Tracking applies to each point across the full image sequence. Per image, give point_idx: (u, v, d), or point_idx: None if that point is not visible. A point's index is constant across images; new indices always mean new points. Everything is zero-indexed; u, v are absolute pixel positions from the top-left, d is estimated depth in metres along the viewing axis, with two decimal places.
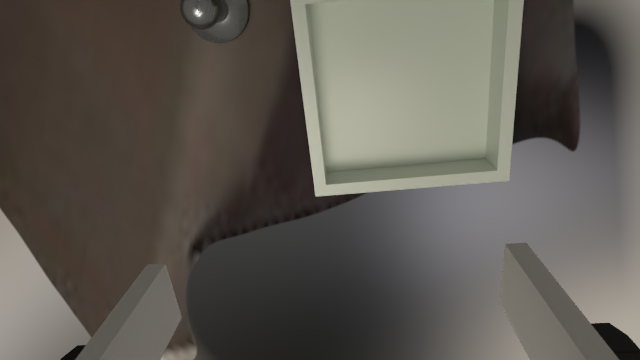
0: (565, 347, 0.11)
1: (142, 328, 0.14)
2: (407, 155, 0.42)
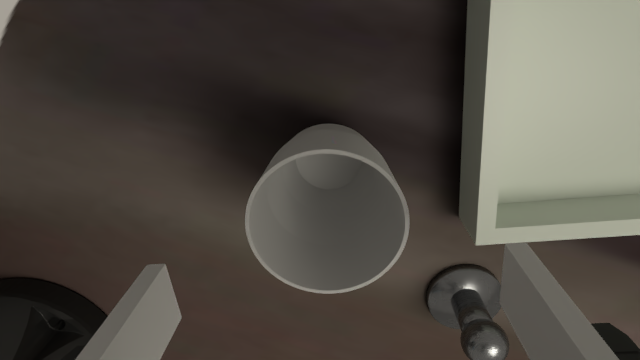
0: (565, 347, 0.11)
1: (142, 328, 0.14)
2: None
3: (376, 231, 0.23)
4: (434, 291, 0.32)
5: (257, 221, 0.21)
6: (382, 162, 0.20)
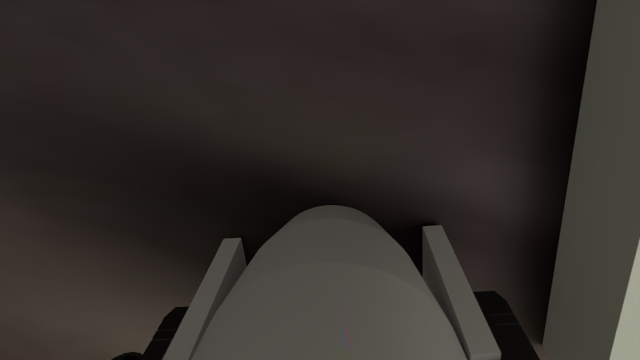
0: (449, 310, 0.12)
1: None
2: None
3: None
4: None
5: None
6: None
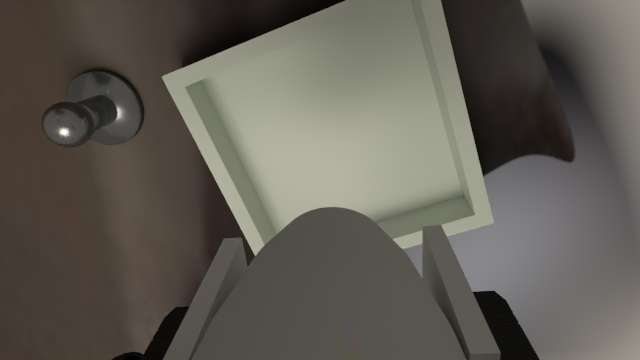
0: (449, 310, 0.12)
1: None
2: (369, 212, 0.35)
3: None
4: (96, 75, 0.31)
5: None
6: None
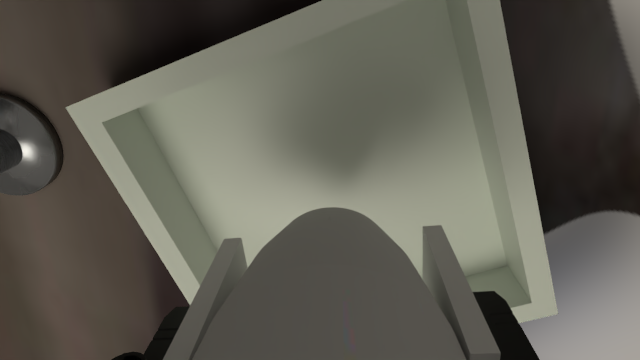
0: (449, 310, 0.12)
1: None
2: None
3: None
4: None
5: None
6: None
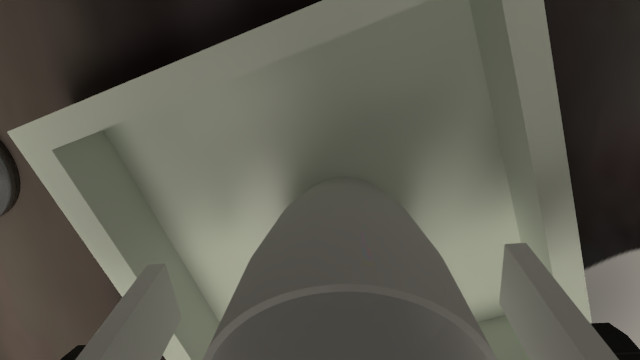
0: (565, 347, 0.11)
1: (142, 328, 0.14)
2: None
3: None
4: None
5: None
6: (453, 287, 0.11)
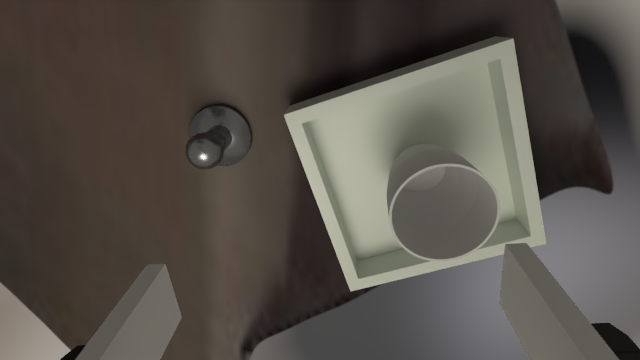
0: (565, 347, 0.11)
1: (142, 328, 0.14)
2: None
3: (464, 222, 0.33)
4: (219, 109, 0.37)
5: None
6: None
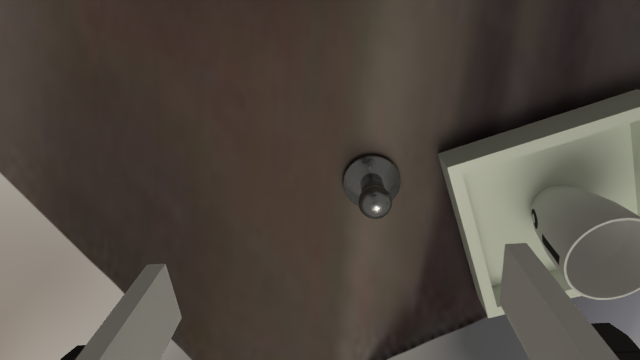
0: (565, 347, 0.11)
1: (142, 328, 0.14)
2: None
3: (616, 260, 0.37)
4: (374, 159, 0.41)
5: None
6: None
